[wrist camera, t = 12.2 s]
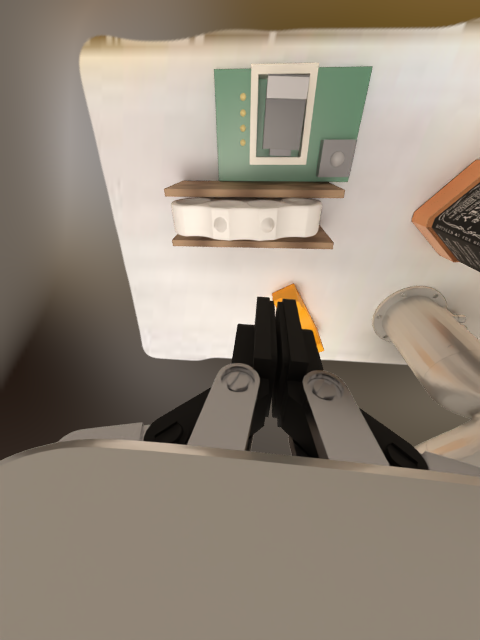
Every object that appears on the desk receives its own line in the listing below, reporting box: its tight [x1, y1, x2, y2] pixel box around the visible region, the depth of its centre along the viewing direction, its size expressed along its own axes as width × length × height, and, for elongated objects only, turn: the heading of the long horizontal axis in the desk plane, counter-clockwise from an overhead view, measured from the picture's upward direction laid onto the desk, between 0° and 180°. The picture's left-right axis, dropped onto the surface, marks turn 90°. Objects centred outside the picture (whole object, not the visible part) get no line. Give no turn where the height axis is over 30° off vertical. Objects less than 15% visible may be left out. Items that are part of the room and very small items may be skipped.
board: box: [214, 63, 373, 182], centre depth 31 cm, size 18×11×4 cm, turn 90°
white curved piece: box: [171, 197, 322, 241], centre depth 32 cm, size 3×18×15 cm, turn 91°
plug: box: [262, 74, 310, 156], centre depth 28 cm, size 4×7×7 cm, turn 178°
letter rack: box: [164, 181, 345, 249], centre depth 34 cm, size 21×7×9 cm, turn 90°
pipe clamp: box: [272, 284, 324, 352], centre depth 46 cm, size 12×4×6 cm, turn 31°
